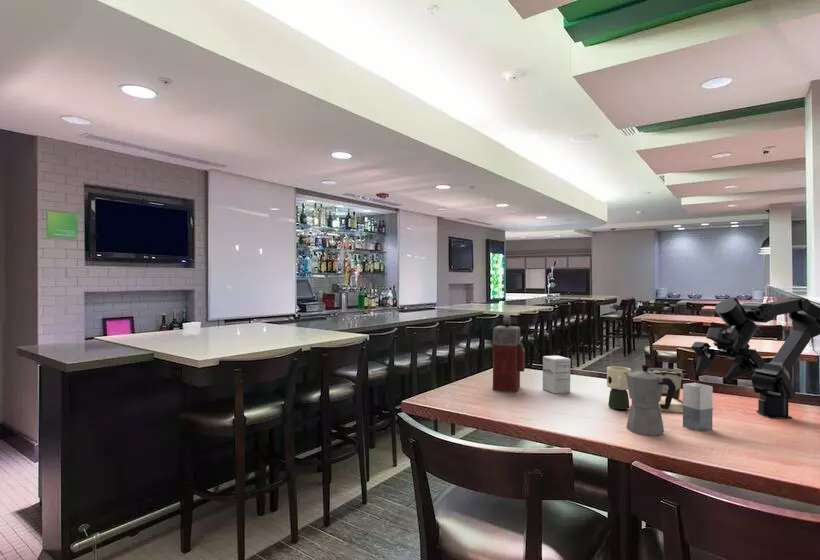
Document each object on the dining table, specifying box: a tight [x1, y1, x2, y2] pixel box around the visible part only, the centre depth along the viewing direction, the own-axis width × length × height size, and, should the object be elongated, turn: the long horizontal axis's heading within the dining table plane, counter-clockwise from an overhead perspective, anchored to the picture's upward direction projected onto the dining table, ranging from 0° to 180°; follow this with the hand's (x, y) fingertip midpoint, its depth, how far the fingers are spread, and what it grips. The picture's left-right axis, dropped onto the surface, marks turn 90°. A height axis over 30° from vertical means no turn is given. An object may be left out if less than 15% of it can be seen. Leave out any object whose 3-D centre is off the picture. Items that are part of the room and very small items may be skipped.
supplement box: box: [542, 355, 572, 394], centre depth 171 cm, size 7×7×13 cm
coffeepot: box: [624, 364, 676, 437], centre depth 124 cm, size 15×9×18 cm, turn 24°
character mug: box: [606, 365, 632, 411], centre depth 147 cm, size 11×7×13 cm, turn 159°
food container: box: [648, 367, 685, 401], centre depth 162 cm, size 12×6×10 cm, turn 84°
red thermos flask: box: [492, 314, 526, 393], centre depth 173 cm, size 9×11×28 cm
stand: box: [659, 396, 683, 413], centre depth 149 cm, size 10×10×2 cm
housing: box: [682, 382, 714, 433], centre depth 128 cm, size 5×5×12 cm
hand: (711, 376), depth 133 cm, fingers open, 9 cm apart
